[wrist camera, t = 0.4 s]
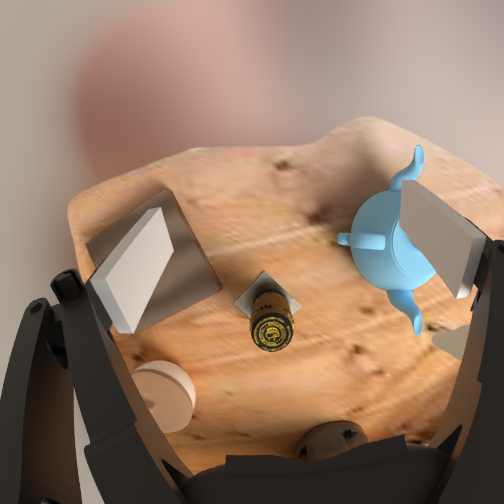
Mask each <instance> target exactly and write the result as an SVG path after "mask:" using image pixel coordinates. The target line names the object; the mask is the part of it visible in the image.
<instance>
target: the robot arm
mask: <svg viewBox="0 0 504 504" xmlns="http://www.w3.org/2000/svg"><path fill="white" fill-rule="evenodd" d="M399 226H400V227H401V229H402V230H403V231H404V232H405V233H406V234H407V236H408V237H409V238H410V239H411V240H412V242H413V243H414V244H415V245H416V246H417V248H418V249H419V250H420V251H421V253H422V254H423V255H424V256H425V258H426V259H427V260H428V261H429V263H430V264H431V265H432V267H433V268H434V269H435V271H436V272H437V273H438V274H439V276H440V277H441V279H442V280H443V281H444V283H445V284H446V285H447V287H448V288H449V290H450V291H451V292H452V294H453V295H454V297H455V298H456V299H458V298H462V297H466V296H469V295H470V293H471V290H472V287H473V284H475V286H476V287H477V288H478V291H477V294H476V296H475V299H474V302H473V304H472V307H471V309H470V311H473V314H472V319H471V325H470V330H469V334H468V339H467V343H466V347H465V351H464V355H463V359H462V362H461V366H460V369H459V373H458V376H457V379H456V382H455V385H454V388H453V391H452V394H451V397H450V400H449V403H448V405H447V408H446V411H445V413H444V416H443V418H442V421H441V423H440V425H439V428H438V430H437V432H436V434H435V435H434V437H433V439H432V440H431V442H430V443H429V445H428V446H425V445H420V444H410V443H407V444H406V442H405V438H404V434H403V435H399V436H395V437H392V438H388V439H384V440H379V441H375V442H370V443H368V439H367V436H366V434H365V432H364V430H363V429H362V428H361V427H360V426H359V425H357V424H355V423H351V422H346V421H338V422H331V423H327V424H324V425H321V426H318V427H316V428H314V429H313V430H311V431H310V432H308V433H307V434H306V435H305V436H303V438H302V439H301V440H300V441H299V443H298V445H297V448H296V457H297V459H291V458H284V457H278V456H273V455H226V462H225V464H224V465H220V466H216V467H213V468H209V469H207V470H205V471H202V472H200V473H198V474H196V475H193V474H192V472H191V471H190V470H189V469H188V468H187V467H186V466H185V465H184V464H183V462H182V461H181V460H180V459H179V457H178V456H177V454H176V453H175V451H174V450H173V448H172V447H171V445H170V444H169V442H168V441H167V439H166V437H165V436H164V434H163V433H162V431H161V429H160V428H159V426H158V424H157V423H156V421H155V419H154V418H153V416H152V414H151V412H150V411H149V409H148V407H147V405H146V404H145V402H144V400H143V398H142V396H141V394H140V392H139V390H138V389H137V387H136V385H135V383H134V381H133V379H132V377H131V375H130V373H129V371H128V368H127V366H126V364H125V362H124V360H123V358H122V356H121V353H120V351H119V349H118V347H117V344H116V342H115V340H114V337H113V335H112V334H111V332H110V330H109V329H110V327H111V325H112V323H113V325H114V326H115V328H116V330H117V331H118V333H133V334H134V331H135V329H136V327H137V325H138V323H139V320H140V318H141V316H142V314H143V312H144V310H145V307H146V305H147V303H148V301H149V299H150V297H151V295H152V293H153V291H154V289H155V287H156V285H157V283H158V281H159V279H160V277H161V275H162V273H163V271H164V269H165V267H166V265H167V263H168V261H169V259H170V257H171V255H172V253H173V251H174V250H173V246H172V243H171V240H170V237H169V233H168V230H167V227H166V223H165V220H164V217H163V213H162V210H161V207H158V208H153V209H148V210H147V211H146V213H145V214H144V215H143V216H142V217H141V218H140V219H139V220H138V222H137V223H136V224H135V225H134V226H133V227H132V228H131V230H130V231H129V232H128V233H127V234H126V235H125V237H124V238H123V239H122V240H121V241H120V243H119V244H118V245H117V246H116V247H115V249H114V250H113V251H112V252H111V254H110V255H109V256H108V257H107V258H105V259H104V260H103V261H102V262H101V264H100V265H99V266H98V268H97V269H96V270H95V271H94V273H93V274H92V275H91V276H90V278H89V279H88V280H87V282H86V283H85V284H84V283H83V281H82V279H81V277H80V275H79V273H78V271H77V270H76V269H68V270H66V271H63V272H62V273H60V274H58V275H57V276H56V277H55V278H54V279H53V280H52V282H51V284H50V286H51V288H52V290H53V292H54V293H55V295H56V296H57V299H58V300H59V302H60V304H57V305H54V306H50V304H49V302H48V301H47V299H46V298H39V299H37V300H34V301H32V302H31V303H30V304H29V306H28V307H27V308H26V310H25V312H24V315H23V318H22V320H21V323H20V327H19V329H18V332H17V335H16V339H15V342H14V345H13V349H12V352H11V356H10V359H9V363H8V367H7V371H6V375H5V380H4V384H3V389H2V394H1V399H0V504H82V498H81V490H80V483H79V476H78V469H77V459H76V450H75V435H74V409H73V408H74V402H73V401H74V397H73V395H74V393H73V392H74V390H73V389H74V388H75V393H76V397H77V400H78V404H79V407H80V410H81V414H82V417H83V420H84V423H85V427H86V430H87V433H88V436H89V439H90V444H89V445H87V446H85V448H84V453H85V458H86V460H87V463H88V465H89V468H90V471H91V473H92V476H93V478H94V481H95V483H96V486H97V488H98V490H99V492H100V494H101V496H102V499H103V501H104V503H105V504H504V241H503V240H494V241H493V240H492V239H491V238H489V237H488V236H487V235H486V234H485V233H484V232H483V231H482V230H479V228H478V227H477V226H476V225H474V224H473V223H472V222H471V221H470V220H469V219H467V218H465V217H463V216H462V215H461V214H459V213H458V212H457V211H456V210H454V209H453V208H452V207H450V206H449V205H448V204H447V203H445V202H444V201H443V200H441V199H440V198H439V197H437V196H436V195H435V194H433V193H432V192H431V191H429V190H428V189H426V188H425V187H424V186H422V185H421V184H419V183H418V182H416V181H415V180H402V188H401V207H400V220H399Z"/></svg>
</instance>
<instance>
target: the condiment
mask: <svg viewBox="0 0 504 504" xmlns="http://www.w3.org/2000/svg"><path fill="white" fill-rule="evenodd" d="M272 289H273V290H272ZM251 301H252V303H251ZM234 304H235V305H236V306H237V307H238V308H239V309H240V310H241V311H242V312H244V313H245V314H246V315H247V316H248V317H249V318H250V331H251V335H252V339H253V341H254V343H255V344H256V345H257V346H258V347H259V348H261V349H262V350H266V351H269V352H276V351H279V350H281V349H283V348H285V347H286V346H287V345H288V344H289V343H290V341H291V339H292V336H293V330H294V320H293V316H292V315H294V314H295V313H296V312H297V311H298V310H299V309H300V308H301V307H302V306H301V305H300V304H299V303H298V302H297V301H296V300H295V299H294V298H292V297H291V296H290V295H289V294H288V293H287V292H286V291H285V290H284V289H283V288H282V287H280V286H279V285H278V284H277V283H276V282H275V281H274V280H273V279H272V278H271V277H270V276H269V275H268V274H267V273H265V272H263V273H262V274H261V275H260V276H259V277H258V278H257V279H256V280H255V281H254V282H253V283H252V284H251V285H250V286H249V288H248V289H247V290H246V291H245V292H244V293H243V294H242V295H241V296H240V297H239V298H238V299H237V300H236V301H235V302H234ZM252 304H253V305H252Z"/></svg>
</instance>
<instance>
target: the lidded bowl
mask: <svg viewBox="0 0 504 504" xmlns="http://www.w3.org/2000/svg"><path fill="white" fill-rule="evenodd" d="M130 375H131V377H132V379H133V381H134V383H135V385H136V387H137V389H138V390H139V392H140V394H141V396H142V398H143V400H144V402H145V404H146V405H147V407H148V409H149V411H150V412H151V414H152V416H153V418H154V419H155V421H156V423H157V424H158V426H159V428H160V429H161V431H162V433H173V432H177V431H180V430H182V429H183V428H185V427H186V426H187V425H188V424H189V422H190V420H191V417H192V414H193V410H194V406H195V401H196V392H195V387H194V384H193V382H192V380H191V378H190V377H189V375H188V374H187V373H186V372H185V371H184V370H183V369H182V368H181V367H179V366H178V365H176V364H174V363H171V362H168V361H162V360H156V361H150V362H147V363H145V364H142V365H141V366H139V367H138V368H136V369H135V370H134V371H133V372H132V373H130Z"/></svg>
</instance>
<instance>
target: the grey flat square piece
mask: <svg viewBox="0 0 504 504" xmlns="http://www.w3.org/2000/svg"><path fill="white" fill-rule="evenodd" d="M158 207H161V210H162V213H163V217H164V220H165V223H166V227H167V230H168V233H169V237H170V240H171V243H172V246H173V250H174V251H173V253H172V255H171V257H170V259H169V261H168V263H167V265H166V267H165V269H164V271H163V273H162V275H161V277H160V279H159V281H158V283H157V285H156V287H155V289H154V291H153V293H152V295H151V297H150V299H149V301H148V303H147V305H146V307H145V310H144V312H143V314H142V316H141V318H140V320H139V323H138V325H137V327H136V329H135V331H134V334H133V333H130V334H131V335H132V336H133V335H135V334H137V333H139V332H141V331H143V330H144V329H146V328H148V327H150V326H152V325H154V324H156V323H158V322H160V321H162V320H164V319H166V318H168V317H170V316H172V315H174V314H176V313H178V312H180V311H182V310H184V309H186V308H188V307H190V306H192V305H193V304H195V303H197V302H199V301H201V300H203V299H205V298H207V297H209V296H211V295H213V294H215V293H217V292H218V291H220V290H221V289H222V288H223V286H222V284H221V283H220V281H219V279H218V277H217V275H216V274H215V272H214V270H213V268H212V266H211V264H210V263H209V261H208V259H207V257H206V255H205V253H204V251H203V250H202V248H201V246H200V244H199V242H198V240H197V238H196V236H195V235H194V233H193V231H192V229H191V227H190V225H189V223H188V221H187V219H186V217H185V215H184V214H183V212H182V210H181V208H180V206H179V204H178V202H177V200H176V198H175V196H174V194H173V192H172V191H171V190H169V189H164V190H163V191H161V192H160V193H158V194H156V195H155V196H153V197H152V198H150V199H149V200H147V201H146V202H144V203H143V204H141V205H140V206H138V207H137V208H135V209H134V210H132V211H131V212H129V213H128V214H126V215H125V216H123V217H122V218H120V219H119V220H118V221H116V222H115V223H113V224H112V225H111V226H109V227H108V228H106V229H105V230H104V231H102V232H101V233H99V234H98V235H97V236H95V237H94V238H93V239H91V240H90V241H89V242H87V243H86V247H87V249H88V251H89V254H90V256H91V258H92V260H93V262H94V265H95V267H96V269H97V268H98V266H99V265H100V264H101V262H102V261H103V260H104V259H105V258H107V257H108V256H109V255H110V254H111V252H112V251H113V250H114V249H115V247H116V246H117V245H118V244H119V243H120V241H121V240H122V239H123V238H124V237H125V235H126V234H127V233H128V232H129V231H130V230H131V228H132V227H133V226H134V225H135V224H136V223H137V222H138V220H139V219H140V218H141V217H142V216H143V215H144V214H145V213H146V211H147V210H148V209H153V208H158Z"/></svg>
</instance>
